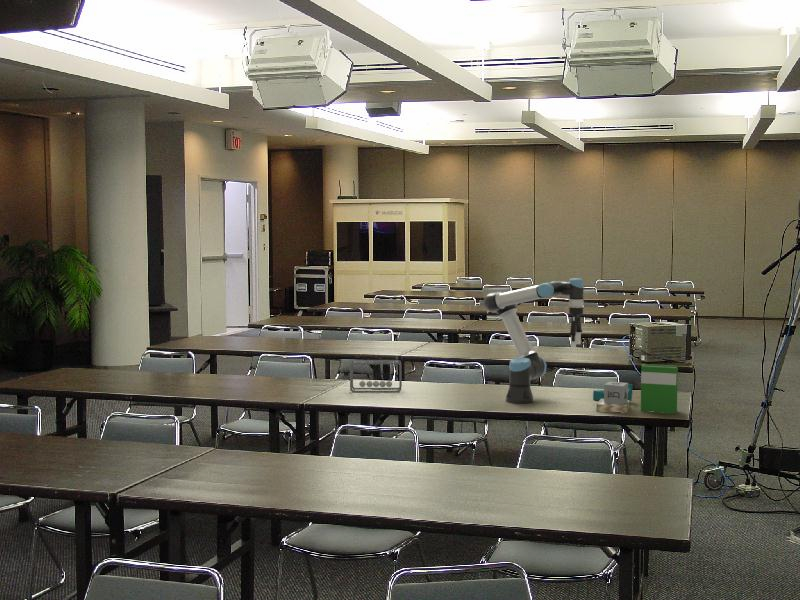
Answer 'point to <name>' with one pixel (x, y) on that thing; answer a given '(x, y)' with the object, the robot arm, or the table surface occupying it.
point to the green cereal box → (659, 388)
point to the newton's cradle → (375, 381)
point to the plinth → (612, 407)
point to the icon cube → (616, 393)
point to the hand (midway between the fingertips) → (575, 345)
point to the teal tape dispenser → (600, 393)
